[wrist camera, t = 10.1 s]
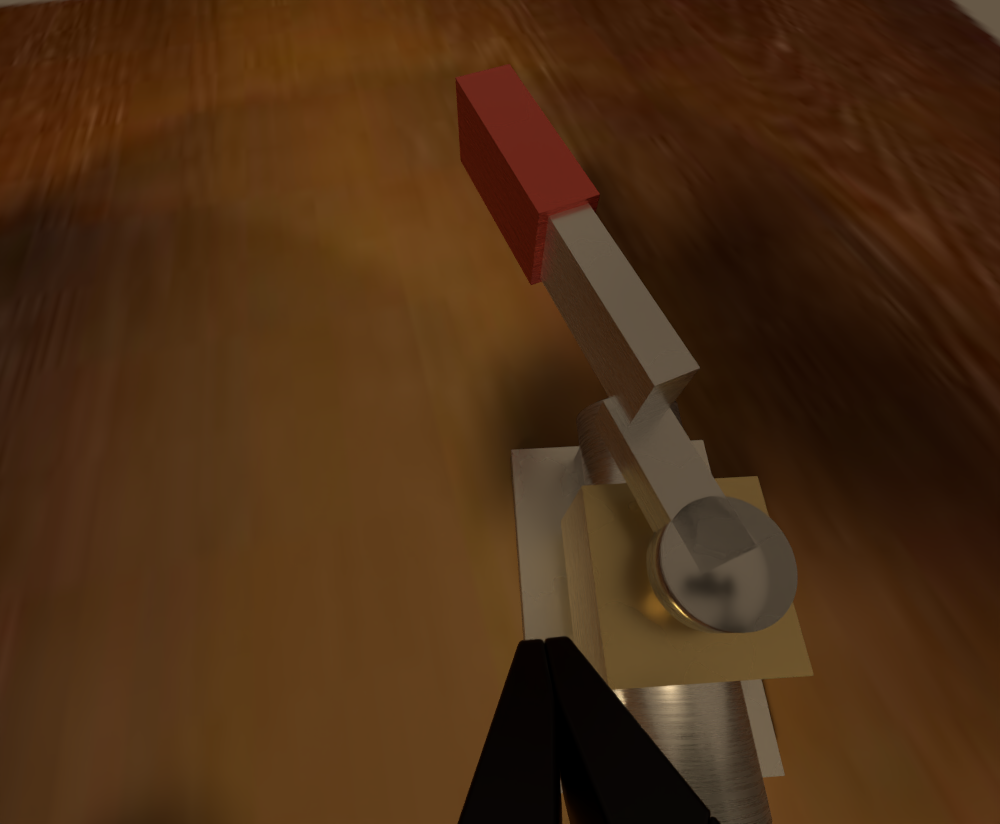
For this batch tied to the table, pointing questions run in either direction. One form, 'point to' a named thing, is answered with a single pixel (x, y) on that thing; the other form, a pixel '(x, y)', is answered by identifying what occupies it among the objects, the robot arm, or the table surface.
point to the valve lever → (623, 364)
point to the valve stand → (648, 622)
